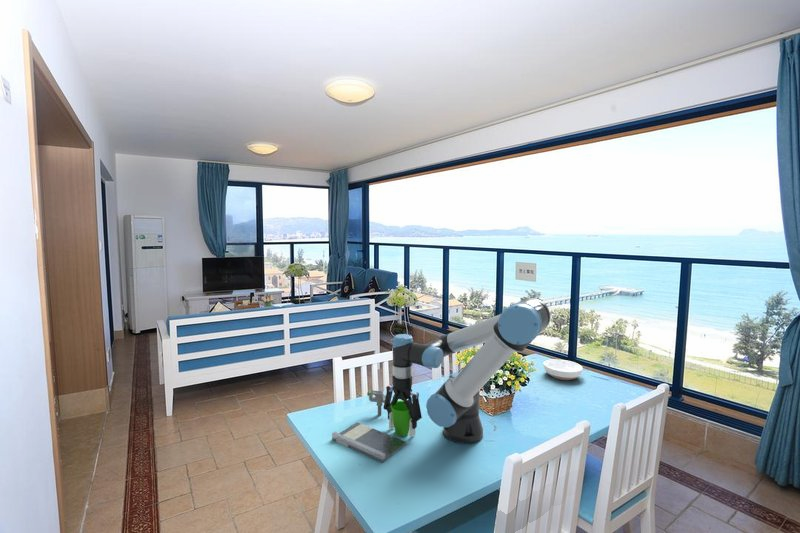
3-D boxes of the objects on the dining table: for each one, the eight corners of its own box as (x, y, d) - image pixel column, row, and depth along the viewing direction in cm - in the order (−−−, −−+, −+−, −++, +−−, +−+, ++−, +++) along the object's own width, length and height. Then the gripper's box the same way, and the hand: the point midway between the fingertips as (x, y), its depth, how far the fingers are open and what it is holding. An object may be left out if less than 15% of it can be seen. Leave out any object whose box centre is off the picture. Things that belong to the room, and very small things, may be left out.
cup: (386, 436, 148) (386, 408, 147) (395, 425, 156) (395, 398, 155) (408, 441, 145) (408, 412, 144) (416, 429, 153) (417, 402, 152)
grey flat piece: (406, 444, 143) (406, 437, 142) (382, 462, 131) (382, 455, 131) (357, 424, 157) (357, 418, 156) (332, 439, 145) (332, 433, 145)
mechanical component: (390, 418, 162) (390, 394, 161) (366, 415, 164) (366, 392, 163) (392, 414, 165) (392, 392, 164) (368, 412, 167) (368, 389, 166)
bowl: (546, 382, 202) (547, 370, 201) (539, 368, 221) (540, 358, 220) (587, 384, 199) (587, 373, 198) (576, 371, 218) (576, 360, 217)
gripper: (432, 378, 145) (431, 436, 147) (385, 366, 158) (385, 419, 160) (421, 385, 139) (420, 445, 141) (374, 371, 152) (374, 427, 154)
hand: (401, 431), depth 150 cm, fingers closed on cup, 9 cm apart
